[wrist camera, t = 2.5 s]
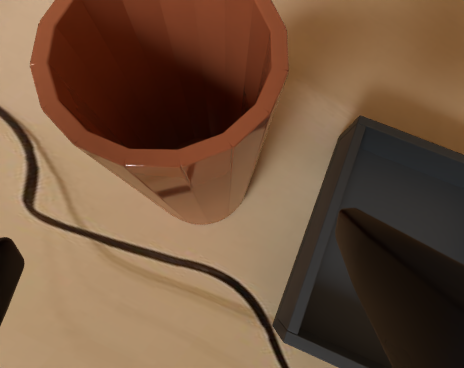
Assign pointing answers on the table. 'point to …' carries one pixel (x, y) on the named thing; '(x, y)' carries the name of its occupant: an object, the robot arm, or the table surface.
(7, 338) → the table surface
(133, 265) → the table surface
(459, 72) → the table surface
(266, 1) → the cup
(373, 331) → the tray
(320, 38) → the table surface
